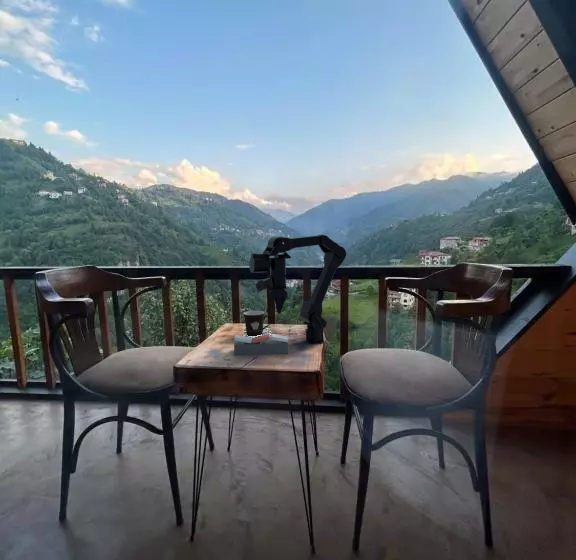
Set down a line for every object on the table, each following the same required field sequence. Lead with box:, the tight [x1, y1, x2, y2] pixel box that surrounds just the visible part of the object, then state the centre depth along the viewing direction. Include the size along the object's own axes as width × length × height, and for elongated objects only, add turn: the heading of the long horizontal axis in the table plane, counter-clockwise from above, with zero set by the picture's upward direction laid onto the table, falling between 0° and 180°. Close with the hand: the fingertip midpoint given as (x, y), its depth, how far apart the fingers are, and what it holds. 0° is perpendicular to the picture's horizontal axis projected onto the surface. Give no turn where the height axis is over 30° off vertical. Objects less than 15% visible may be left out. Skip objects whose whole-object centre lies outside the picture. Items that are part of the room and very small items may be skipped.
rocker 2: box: [270, 333, 289, 343], centre depth 128 cm, size 6×4×1 cm, turn 91°
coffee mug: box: [243, 310, 274, 336], centre depth 150 cm, size 12×9×10 cm
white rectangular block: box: [233, 334, 252, 343], centre depth 128 cm, size 6×4×1 cm, turn 91°
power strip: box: [233, 336, 289, 357], centre depth 130 cm, size 19×8×5 cm, turn 92°
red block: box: [252, 333, 271, 343], centre depth 128 cm, size 6×4×1 cm, turn 92°
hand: (279, 312), depth 134 cm, fingers closed
